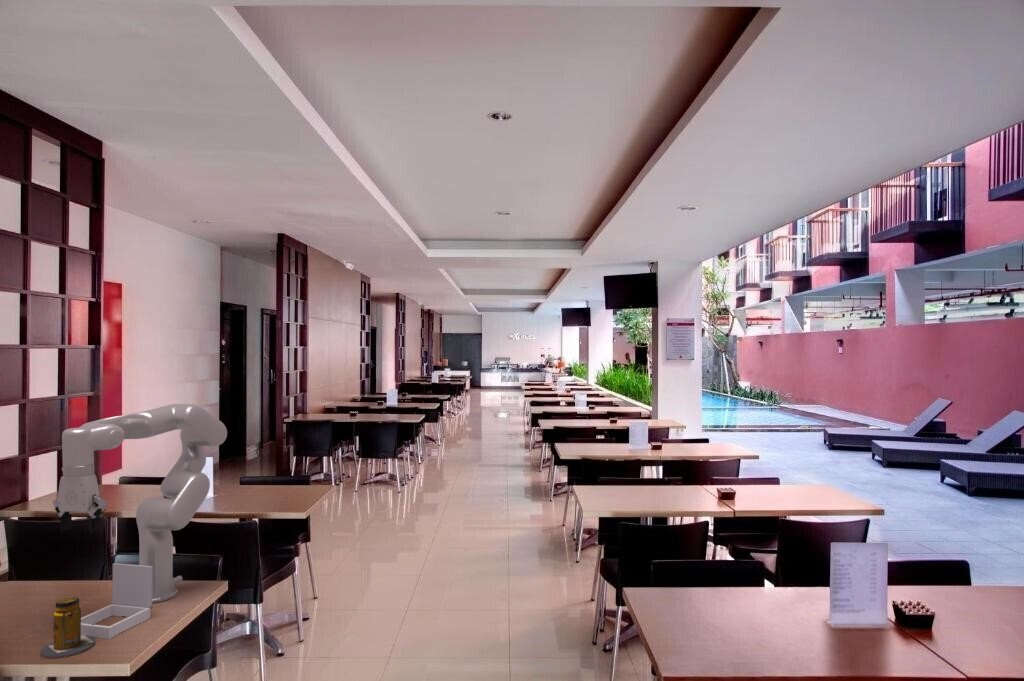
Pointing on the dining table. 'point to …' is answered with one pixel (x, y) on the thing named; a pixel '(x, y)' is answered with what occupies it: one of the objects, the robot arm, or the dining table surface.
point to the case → (123, 601)
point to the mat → (49, 652)
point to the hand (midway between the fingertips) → (80, 530)
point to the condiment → (68, 626)
